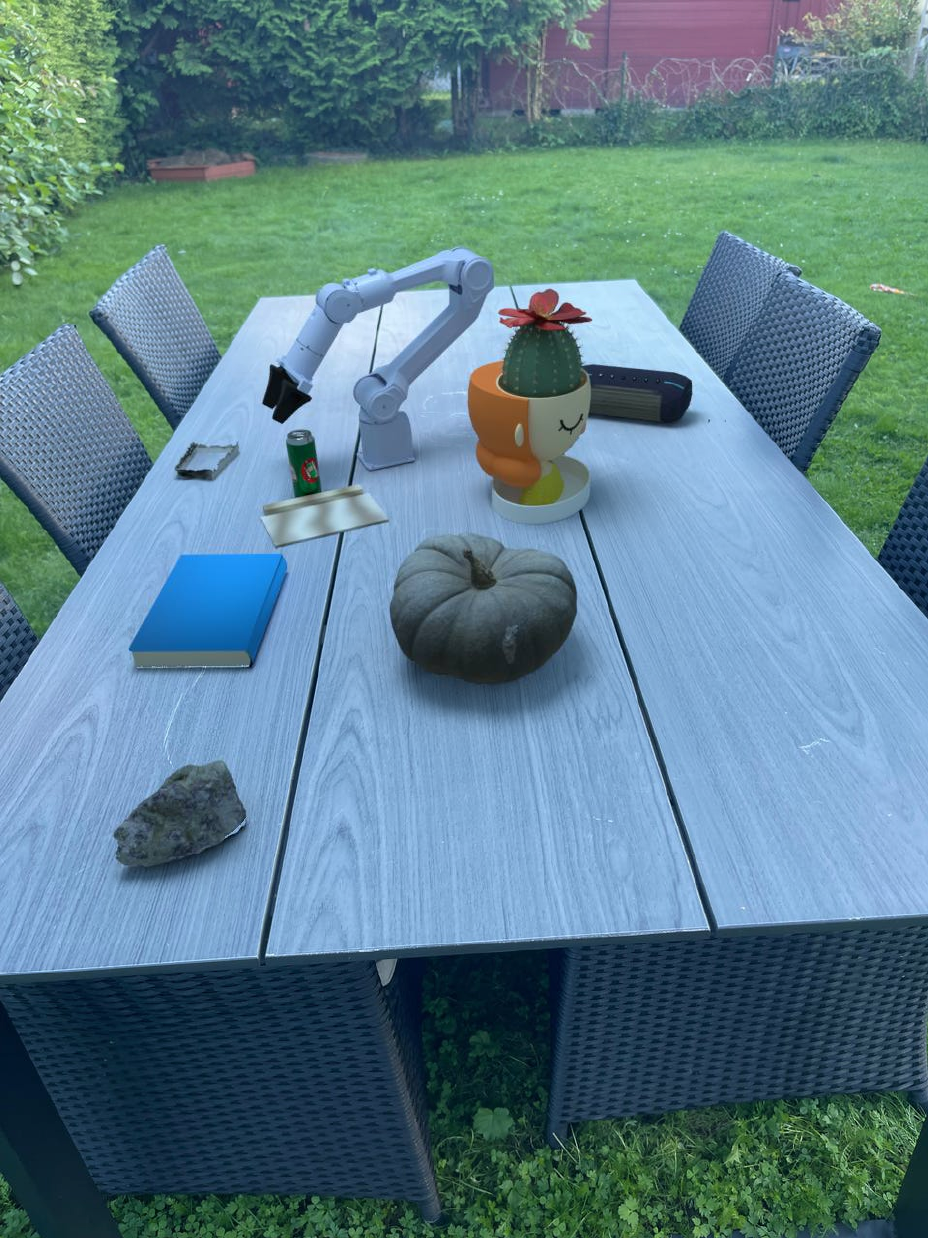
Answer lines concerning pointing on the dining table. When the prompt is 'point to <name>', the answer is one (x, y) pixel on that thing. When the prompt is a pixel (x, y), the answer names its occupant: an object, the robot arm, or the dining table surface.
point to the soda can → (303, 463)
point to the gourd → (481, 608)
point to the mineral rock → (181, 816)
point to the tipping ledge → (320, 515)
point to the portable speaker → (638, 393)
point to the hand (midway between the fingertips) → (272, 413)
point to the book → (210, 611)
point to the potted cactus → (534, 415)
